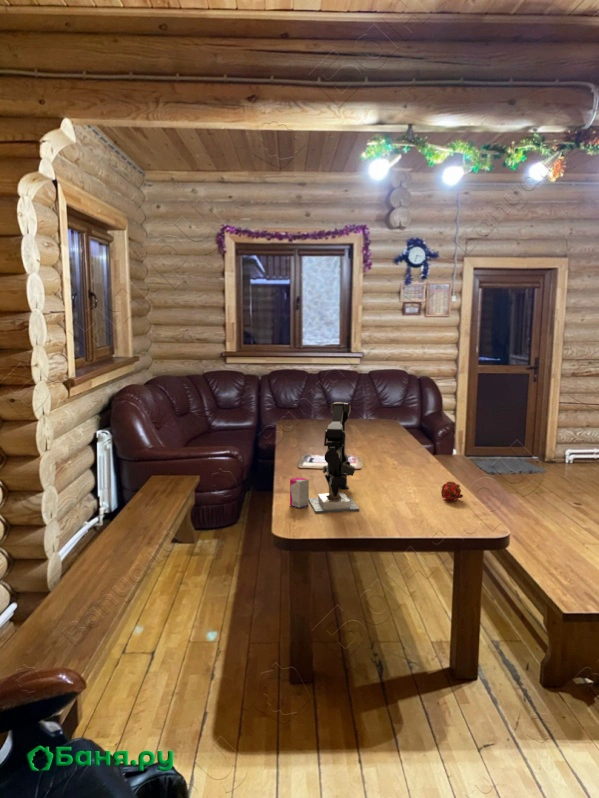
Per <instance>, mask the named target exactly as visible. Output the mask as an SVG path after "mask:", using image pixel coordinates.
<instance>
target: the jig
mask: <svg viewBox="0 0 599 798" xmlns="http://www.w3.org/2000/svg"><path fill="white" fill-rule="evenodd" d="M317 494H318V495H317V496H318V497H309V504H310V506H311V505H312V506H311V507H313V508H312V510H313V509H314V510H313V511H314V513H315V514H326V513H327V514H328V512H331V513H344V512H343V511H349V512H360V508H359V506H358V505H357V504H356V503H355V502H354V499H352V497H351V496H349V495H346V494H345V493H344V492H340V496H339V499H338V500H330V499H329V492H327V493H317Z"/></svg>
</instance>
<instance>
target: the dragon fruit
mask: <svg viewBox="0 0 599 798" xmlns="http://www.w3.org/2000/svg"><path fill="white" fill-rule="evenodd" d="M460 487H461V485H460V484H457V483H456V482H455V481H447V482H445V483H444V484H443V485H442V486H441V490H440V491H441V492H440V494H441V498H442V499H445V501H446V502H448V503H451V502H452V501H454V502H456V501H457V500H459V499H462V498H463V497H464V494H461V493H462V489H461V488H460Z"/></svg>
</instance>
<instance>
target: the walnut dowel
mask: <svg viewBox="0 0 599 798" xmlns="http://www.w3.org/2000/svg"><path fill="white" fill-rule="evenodd" d="M340 490H341V489H340V487H339V491H338V494H337V497H334V495H333V492H332V489H331V486H330V484H329V485H328V493H329V499H330V500H338V499H339V496H340V493H341V491H340Z"/></svg>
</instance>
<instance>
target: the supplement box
mask: <svg viewBox="0 0 599 798" xmlns="http://www.w3.org/2000/svg"><path fill="white" fill-rule="evenodd" d="M309 480H310V479H308V478H305V477H300V476H298V477H295V478H290V479H289V506H290V505H291V506H290V507H292V506H294V507H293V508H295V507H296V508H295V509H298V508H300V509H302V507H303V508H306V507H309V506H310V505H309V504H310V502H309V498H310V495H309V494H310V493H309V492H310V491H309V489H310V487H309V485H310V484H309V483H310V481H309ZM308 505H309V506H308ZM305 506H306V507H305Z"/></svg>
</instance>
